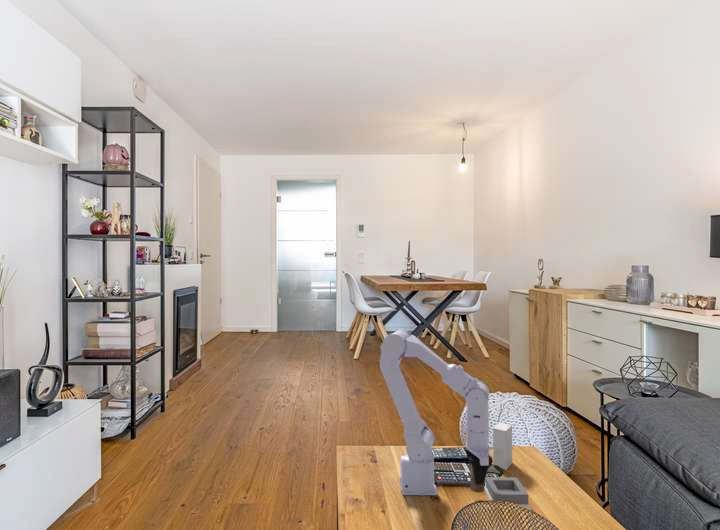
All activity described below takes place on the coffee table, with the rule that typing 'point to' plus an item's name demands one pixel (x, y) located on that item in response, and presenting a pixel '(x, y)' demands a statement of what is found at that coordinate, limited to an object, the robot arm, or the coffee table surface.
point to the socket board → (506, 490)
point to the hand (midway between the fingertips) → (477, 479)
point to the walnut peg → (474, 486)
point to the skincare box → (502, 445)
